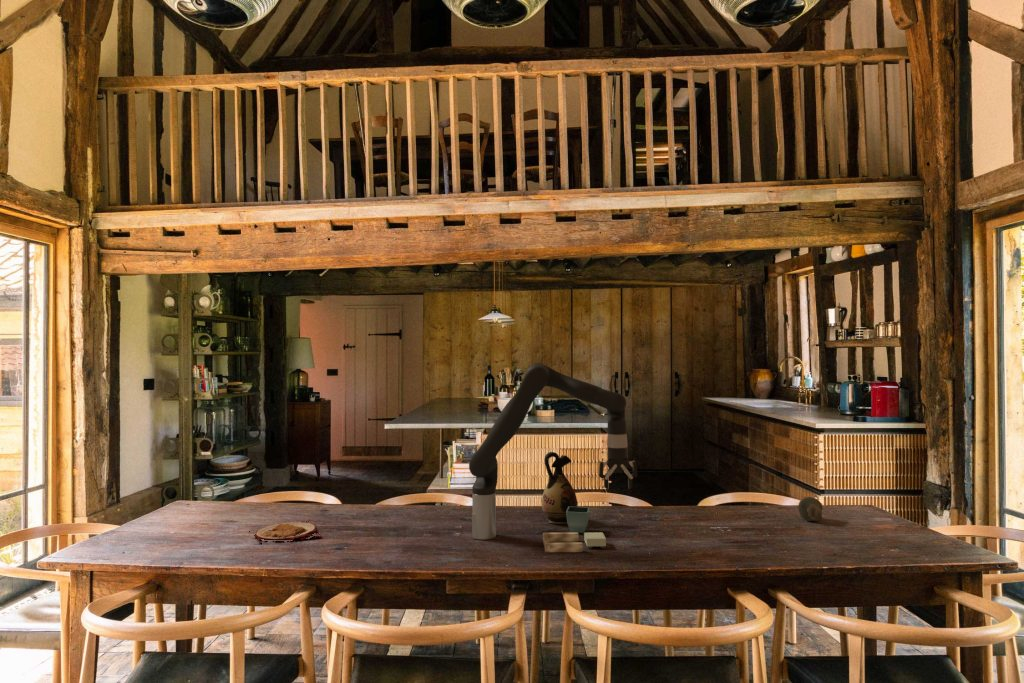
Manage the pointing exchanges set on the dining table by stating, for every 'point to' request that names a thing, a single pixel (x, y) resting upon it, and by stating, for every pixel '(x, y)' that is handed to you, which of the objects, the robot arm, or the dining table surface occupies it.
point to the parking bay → (562, 547)
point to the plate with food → (287, 531)
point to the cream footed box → (595, 540)
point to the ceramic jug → (557, 491)
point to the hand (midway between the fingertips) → (618, 488)
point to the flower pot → (577, 518)
